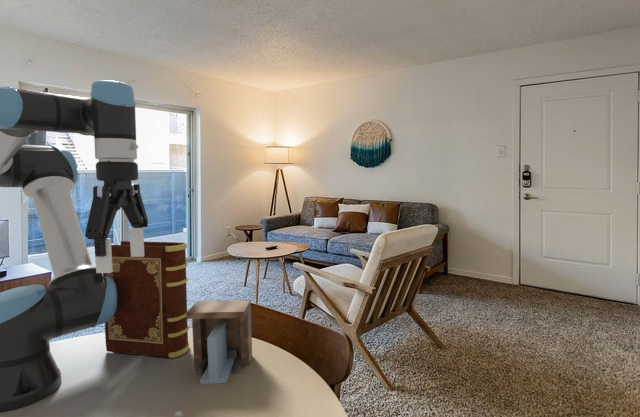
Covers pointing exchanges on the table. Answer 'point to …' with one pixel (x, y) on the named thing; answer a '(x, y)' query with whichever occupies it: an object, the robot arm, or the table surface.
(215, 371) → the bookend
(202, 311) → the cubby
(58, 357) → the table surface
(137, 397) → the table surface
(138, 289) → the decorative book
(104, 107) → the robot arm
